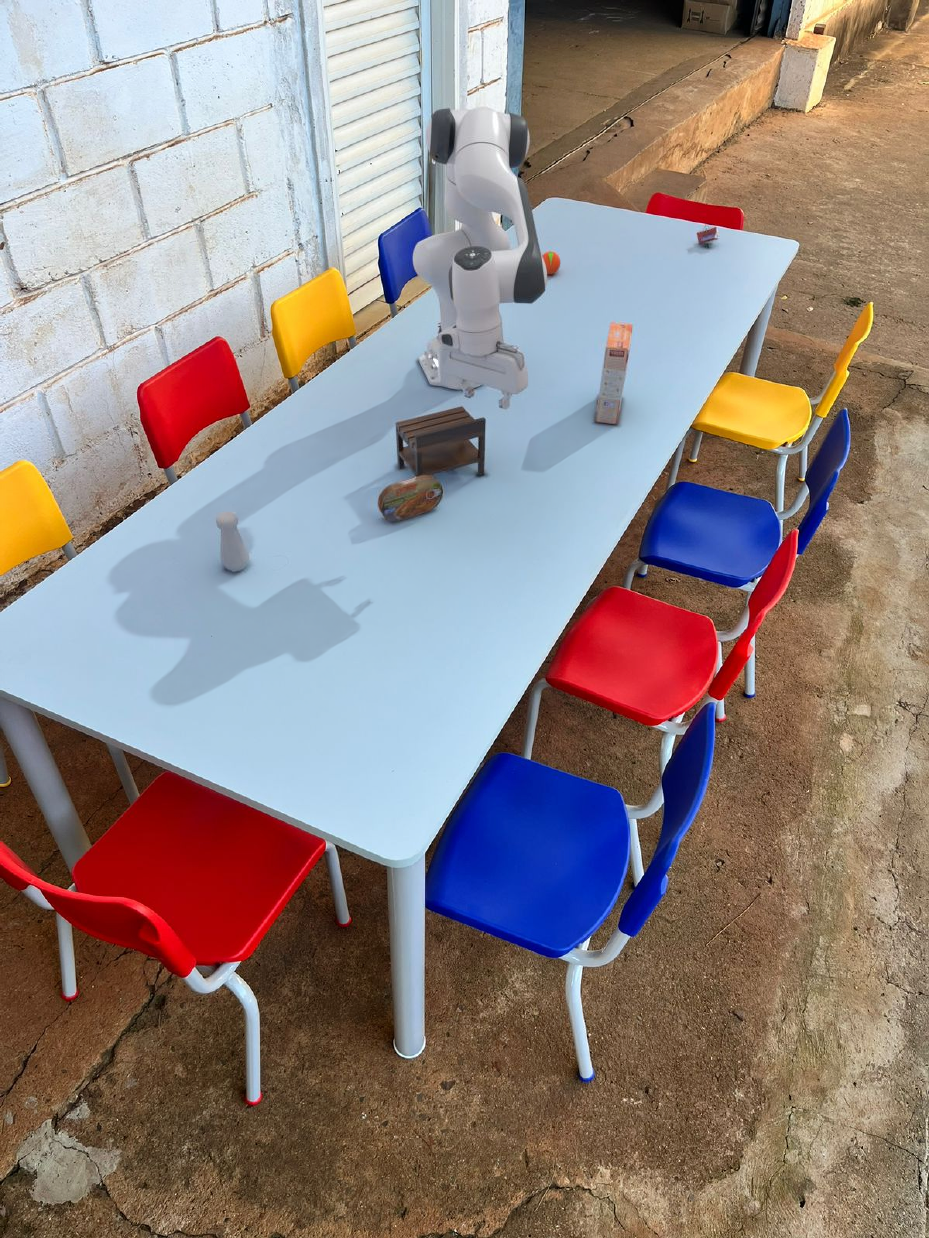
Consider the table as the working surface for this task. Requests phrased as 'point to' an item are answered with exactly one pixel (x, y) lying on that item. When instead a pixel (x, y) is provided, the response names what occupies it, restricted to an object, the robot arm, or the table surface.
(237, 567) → the salt shaker
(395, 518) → the tin
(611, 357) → the cracker box
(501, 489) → the table surface
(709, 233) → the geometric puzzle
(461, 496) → the table surface
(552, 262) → the clementine
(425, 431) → the rack
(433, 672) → the table surface
